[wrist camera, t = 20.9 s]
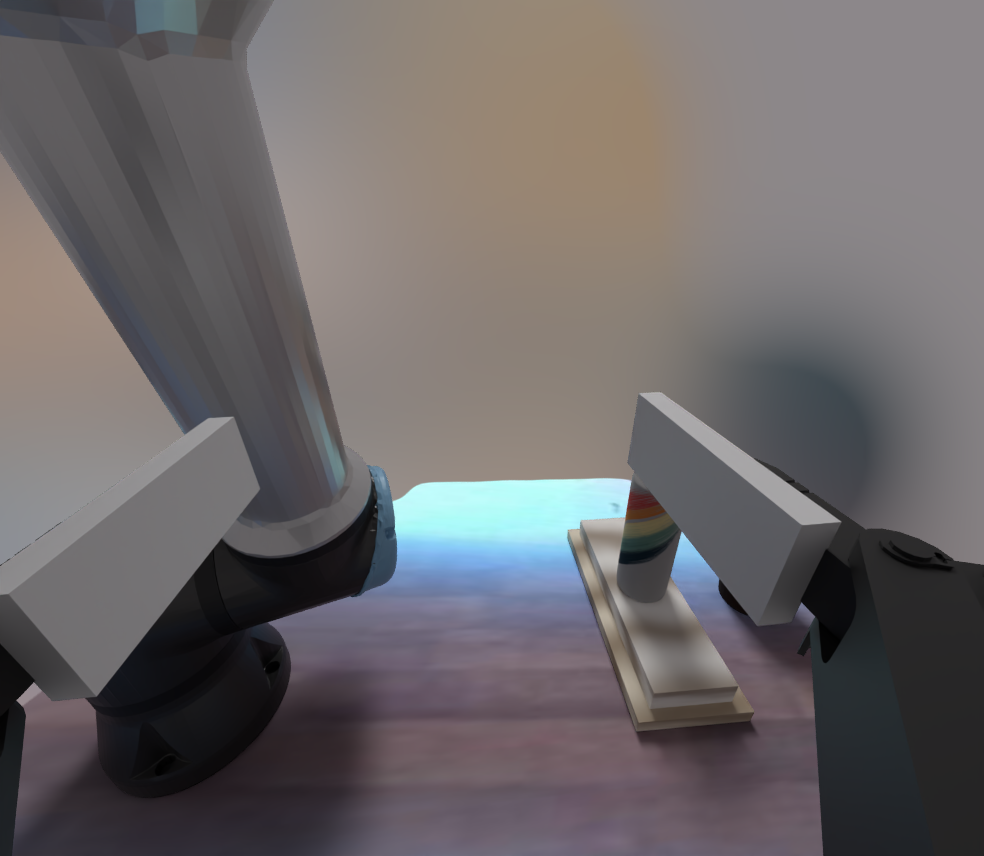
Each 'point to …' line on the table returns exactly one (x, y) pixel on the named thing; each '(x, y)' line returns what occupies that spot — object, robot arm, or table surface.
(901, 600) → the robot arm
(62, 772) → the table surface
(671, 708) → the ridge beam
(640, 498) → the lotion bottle
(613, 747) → the table surface
